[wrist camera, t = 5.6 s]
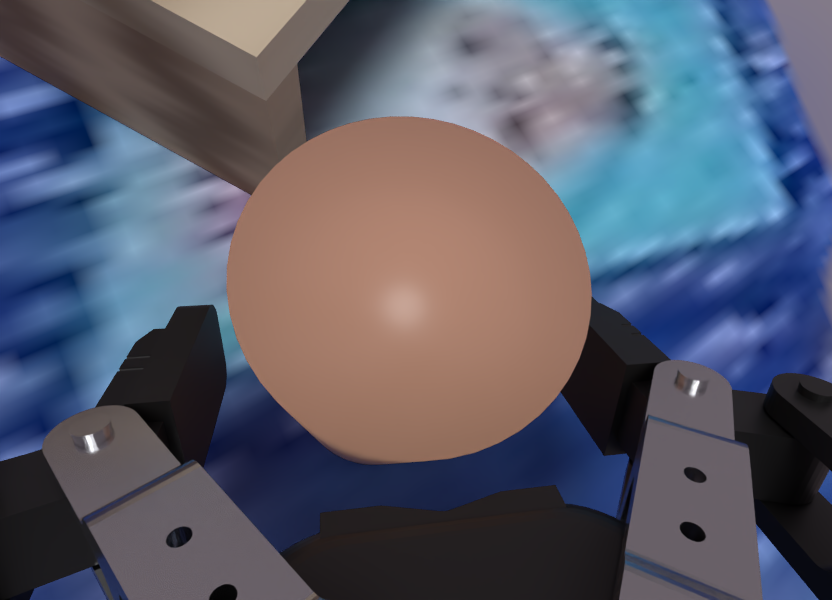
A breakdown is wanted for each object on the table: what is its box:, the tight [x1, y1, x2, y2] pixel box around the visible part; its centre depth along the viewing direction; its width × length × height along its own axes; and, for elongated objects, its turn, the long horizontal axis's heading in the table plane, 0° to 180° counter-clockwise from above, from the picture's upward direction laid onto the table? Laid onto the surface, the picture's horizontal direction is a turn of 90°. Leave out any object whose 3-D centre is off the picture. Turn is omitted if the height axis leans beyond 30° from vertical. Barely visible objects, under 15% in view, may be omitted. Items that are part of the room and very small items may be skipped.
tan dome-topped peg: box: [227, 117, 592, 465], centre depth 13 cm, size 5×5×11 cm
